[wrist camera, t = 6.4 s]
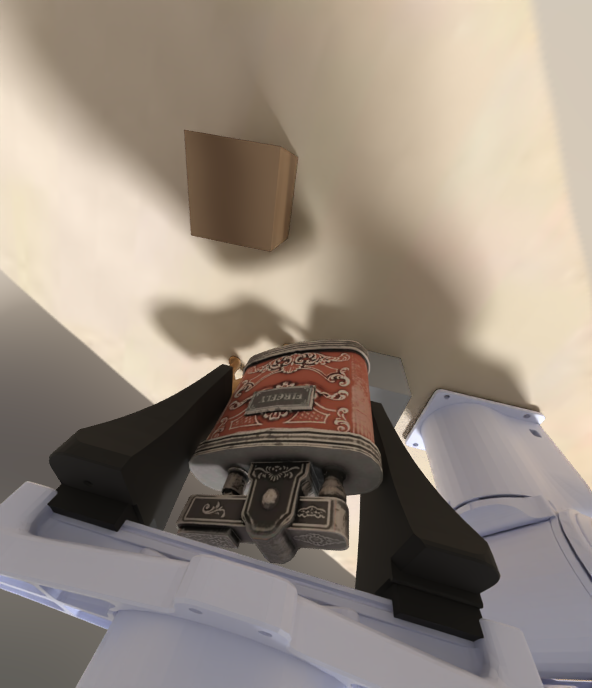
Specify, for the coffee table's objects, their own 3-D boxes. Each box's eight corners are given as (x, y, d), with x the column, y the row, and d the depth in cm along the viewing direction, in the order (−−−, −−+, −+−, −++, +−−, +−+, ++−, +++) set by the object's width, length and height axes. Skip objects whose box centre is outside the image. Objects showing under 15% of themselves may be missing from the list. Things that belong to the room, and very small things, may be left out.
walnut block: (298, 157, 17) (280, 146, 12) (288, 238, 19) (270, 251, 15) (225, 144, 17) (184, 129, 13) (225, 225, 20) (191, 235, 15)
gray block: (400, 357, 23) (411, 396, 19) (381, 397, 25) (387, 439, 21) (345, 345, 23) (343, 379, 19) (332, 385, 26) (329, 424, 22)
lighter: (364, 331, 14) (385, 529, 6) (373, 378, 16) (399, 588, 8) (239, 352, 17) (129, 516, 8) (257, 391, 18) (179, 562, 10)
